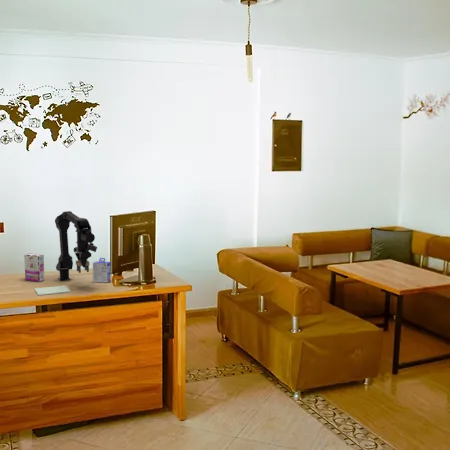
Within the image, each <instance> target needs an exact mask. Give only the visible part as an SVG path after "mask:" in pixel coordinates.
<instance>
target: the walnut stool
mask: <svg viewBox="0 0 450 450" xmlns="http://www.w3.org/2000/svg"><path fill="white" fill-rule="evenodd" d="M75 265H76V272H78V273H79V274H80V273H82V271H81V270H82V269H81V267H83V266H82V263H81V261H80V260H79V261H78V260H75ZM84 271H86V273H89V272H90V261H89V260H88V259H87V262H86V266H85V268H84Z"/></svg>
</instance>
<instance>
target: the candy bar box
mask: <svg viewBox="0 0 450 450" xmlns="http://www.w3.org/2000/svg"><path fill="white" fill-rule="evenodd" d="M23 257H24V275H25V276H24V279H25V281H30V282H39V283H40V282H41V283H42V282H44V281H45V262H44V258H45V257H44V254H42V253H41V254H40V253H39V254H38V253H25V254H24V255H23Z"/></svg>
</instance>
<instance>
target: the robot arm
mask: <svg viewBox="0 0 450 450" xmlns="http://www.w3.org/2000/svg"><path fill="white" fill-rule="evenodd" d="M54 223H55V227H56V228H57V230H58V233H59V247H60V249H59V250H60V255H59V256H58V259H57V260H58V262H57V263H56V265H55V270H56V271H59V277H58V278H57V279H58V280H59V281H60V282H62V281H64V282H65V281H71V278H70V270H73V265H74V262H73V256H71V255H70V249H69V239H68V238H69V237H68V230H69V228H70V225H71V224H70V223H72V224H73V227H74V228H75V229H76V230H75V232H76V242H75V243H76V247H74V248H73V253H74V254H75V257H76V259H77V261H79V260H80V261H81V263H82V266H81V267H82V268H83V269H85V266H86V262H87V260H88V259H89V258H91V257H92V252H94V253H97V249H98V246H96V245H95V244H94V243H93V242H94V241H95V239H96V237H95V234H94V233H92V231H93V230H92V226H91V224H90V222H89V220H88V219H87V218H85V217H79V216H78V215H76V214H74V213H73V212H72V211H71V210H70V211H69V210H68V211H67V210H66V211H62V213H61V214H58V216H56V218H55V219H54Z"/></svg>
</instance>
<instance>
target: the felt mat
mask: <svg viewBox="0 0 450 450" xmlns="http://www.w3.org/2000/svg"><path fill="white" fill-rule="evenodd" d="M33 290H34V292H35V293H36V295H37V296H39V295H40V296H47V295H58V294H67V293H71V292H72V291H71V290H70V289H69V287H67V285H56V286H49V287H48V286H46V287H36V288H34V289H33ZM40 296H39V297H40Z"/></svg>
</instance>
